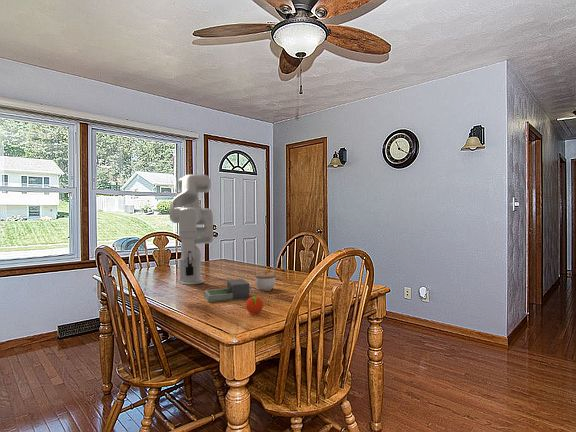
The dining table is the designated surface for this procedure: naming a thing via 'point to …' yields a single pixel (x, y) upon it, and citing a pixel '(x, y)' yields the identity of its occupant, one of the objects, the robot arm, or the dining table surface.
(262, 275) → the lidded jar
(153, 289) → the dining table surface
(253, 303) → the tomato
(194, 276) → the can
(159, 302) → the dining table surface
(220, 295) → the frame
